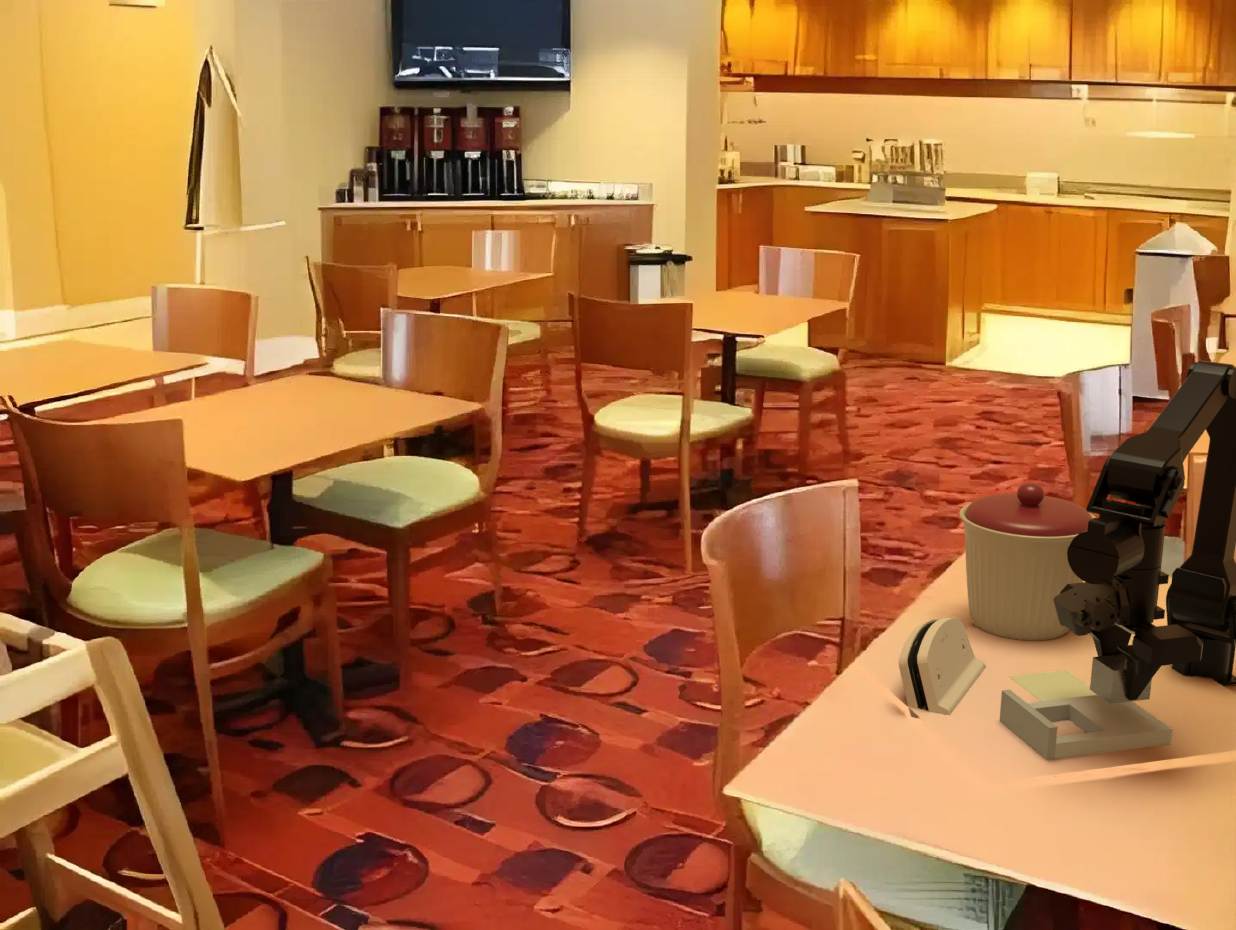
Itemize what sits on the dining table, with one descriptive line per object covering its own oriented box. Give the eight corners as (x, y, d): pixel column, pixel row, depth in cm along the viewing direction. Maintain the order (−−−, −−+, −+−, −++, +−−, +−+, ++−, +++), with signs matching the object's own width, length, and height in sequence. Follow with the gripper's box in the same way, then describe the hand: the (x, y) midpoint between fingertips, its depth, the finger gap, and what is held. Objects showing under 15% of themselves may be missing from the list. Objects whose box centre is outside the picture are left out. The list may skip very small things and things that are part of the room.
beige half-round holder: (952, 726, 158) (928, 646, 157) (914, 730, 160) (890, 651, 160) (989, 675, 172) (968, 601, 171) (954, 680, 174) (932, 606, 174)
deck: (1116, 715, 161) (1120, 676, 159) (1169, 753, 151) (1174, 712, 150) (998, 730, 157) (1001, 690, 156) (1045, 770, 148) (1049, 728, 146)
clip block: (1128, 684, 156) (1131, 652, 155) (1149, 699, 152) (1153, 666, 151) (1089, 689, 155) (1092, 657, 154) (1110, 704, 151) (1113, 671, 150)
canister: (968, 599, 198) (977, 460, 193) (1097, 620, 190) (1111, 475, 185) (938, 642, 182) (947, 492, 177) (1077, 666, 175) (1092, 510, 169)
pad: (1065, 678, 171) (1065, 669, 171) (1101, 705, 163) (1102, 695, 163) (1007, 685, 169) (1008, 676, 169) (1042, 712, 161) (1043, 703, 161)
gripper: (1023, 541, 156) (1013, 666, 160) (1119, 597, 139) (1105, 736, 143) (1108, 534, 159) (1096, 657, 163) (1213, 587, 142) (1197, 724, 146)
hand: (1120, 691), depth 154 cm, fingers closed on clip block, 4 cm apart
